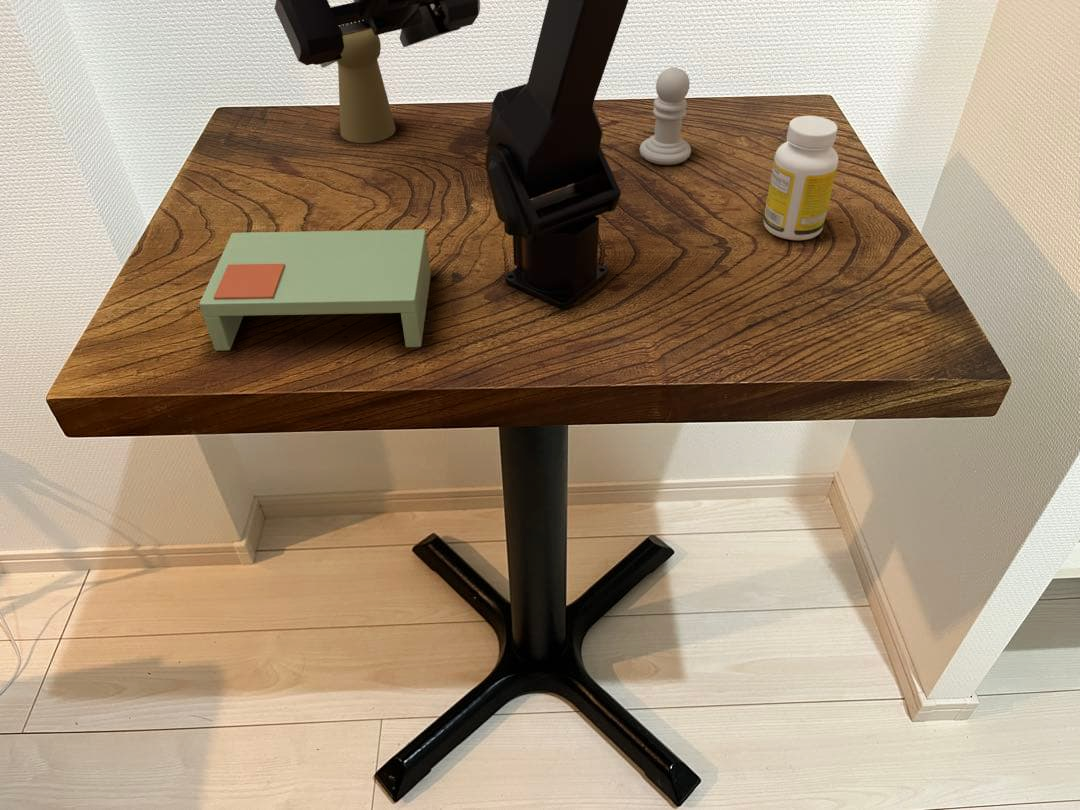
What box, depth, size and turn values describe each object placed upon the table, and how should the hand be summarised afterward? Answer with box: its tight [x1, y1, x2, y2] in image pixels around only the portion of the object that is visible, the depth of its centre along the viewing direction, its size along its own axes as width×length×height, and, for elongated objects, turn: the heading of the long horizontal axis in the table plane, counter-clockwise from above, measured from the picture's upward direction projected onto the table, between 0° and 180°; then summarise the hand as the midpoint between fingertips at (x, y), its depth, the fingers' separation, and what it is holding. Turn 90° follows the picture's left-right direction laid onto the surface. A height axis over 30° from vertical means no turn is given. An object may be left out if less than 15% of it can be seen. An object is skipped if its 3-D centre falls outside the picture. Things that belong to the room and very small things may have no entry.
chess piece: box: [639, 67, 692, 166], centre depth 87 cm, size 5×5×9 cm
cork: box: [335, 29, 396, 144], centre depth 91 cm, size 6×6×11 cm
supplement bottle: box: [763, 115, 839, 241], centre depth 76 cm, size 5×5×10 cm
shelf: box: [199, 228, 432, 352], centre depth 69 cm, size 10×16×5 cm, turn 91°
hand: (362, 52), depth 88 cm, fingers open, 9 cm apart
